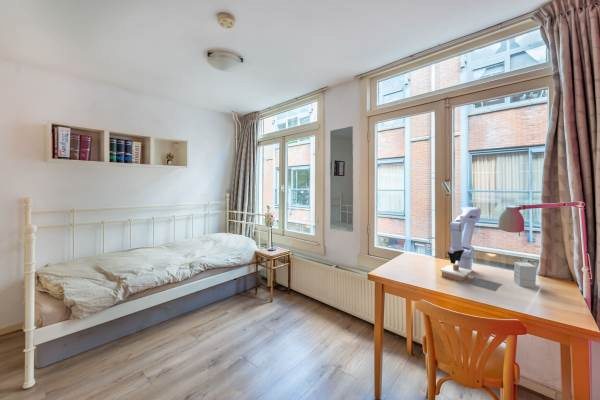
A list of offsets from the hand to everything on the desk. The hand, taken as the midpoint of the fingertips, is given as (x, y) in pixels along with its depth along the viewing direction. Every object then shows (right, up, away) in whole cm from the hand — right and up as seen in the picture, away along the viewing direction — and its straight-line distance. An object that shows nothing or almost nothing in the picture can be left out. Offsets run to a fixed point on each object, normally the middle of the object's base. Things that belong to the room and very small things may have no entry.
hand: (455, 262), depth 155 cm
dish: (0, -10, +1) cm, 10 cm away
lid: (0, -6, 0) cm, 6 cm away
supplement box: (+32, -11, -12) cm, 36 cm away
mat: (+10, -11, -10) cm, 18 cm away
